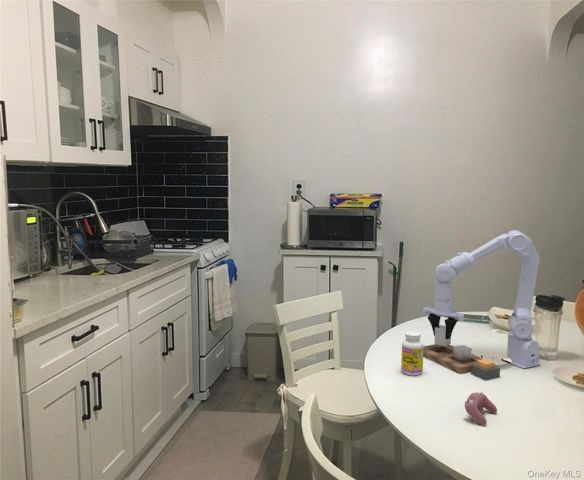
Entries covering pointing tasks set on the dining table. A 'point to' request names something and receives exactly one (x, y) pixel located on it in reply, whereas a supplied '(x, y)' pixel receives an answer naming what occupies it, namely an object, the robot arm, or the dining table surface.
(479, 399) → the video game controller
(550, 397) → the dining table surface
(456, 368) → the brown board with cutouts
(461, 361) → the block
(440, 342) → the steel billet
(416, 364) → the supplement bottle
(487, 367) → the button
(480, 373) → the button housing
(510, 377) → the dining table surface
